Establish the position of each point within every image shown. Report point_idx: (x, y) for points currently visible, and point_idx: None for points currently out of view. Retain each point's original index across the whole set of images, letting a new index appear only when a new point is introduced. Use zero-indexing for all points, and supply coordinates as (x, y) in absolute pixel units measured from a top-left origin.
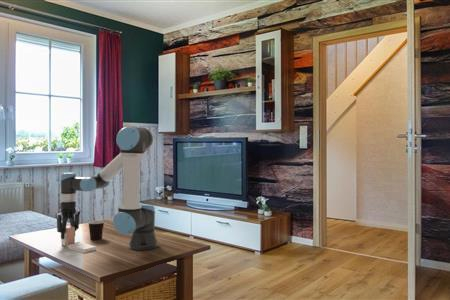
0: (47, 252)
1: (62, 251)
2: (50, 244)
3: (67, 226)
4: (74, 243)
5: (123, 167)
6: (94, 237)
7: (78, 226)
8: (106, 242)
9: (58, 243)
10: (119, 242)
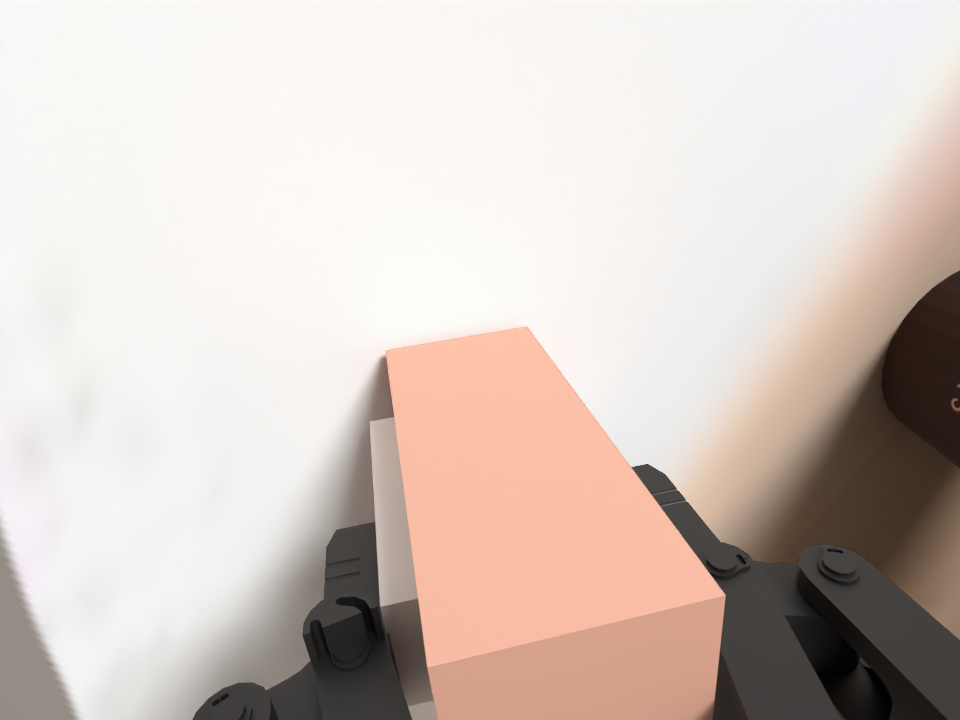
0: (29, 591)
1: (259, 652)
2: (236, 75)
3: (610, 709)
4: None
5: None
6: (931, 443)
7: (870, 698)
8: (884, 574)
9: (414, 130)
10: None
